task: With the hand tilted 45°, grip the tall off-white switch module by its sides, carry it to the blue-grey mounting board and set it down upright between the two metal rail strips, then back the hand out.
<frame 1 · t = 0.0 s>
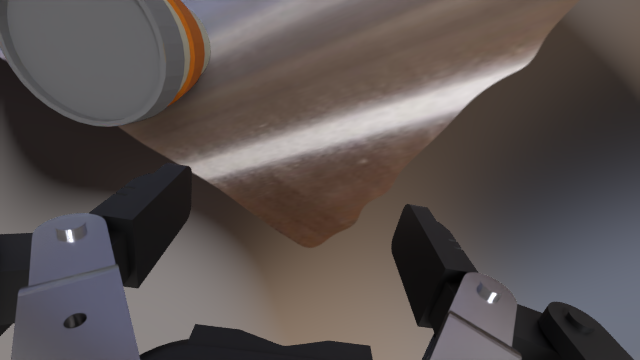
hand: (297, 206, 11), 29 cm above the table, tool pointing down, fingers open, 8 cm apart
reusable coffee cup: (173, 43, 35), on the table
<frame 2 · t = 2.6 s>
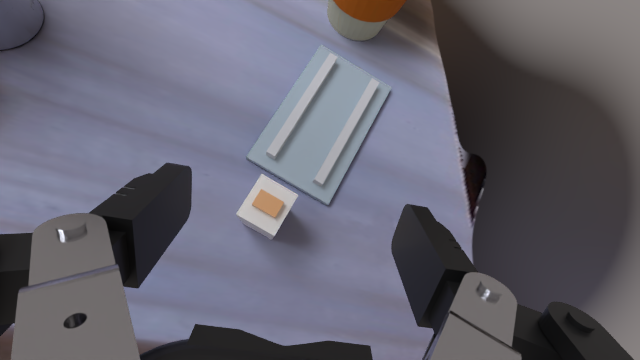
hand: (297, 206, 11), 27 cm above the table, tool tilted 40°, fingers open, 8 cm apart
reusable coffee cup: (354, 16, 47), on the table
switch module: (266, 216, 37), on the table
mounting board: (323, 122, 41), on the table
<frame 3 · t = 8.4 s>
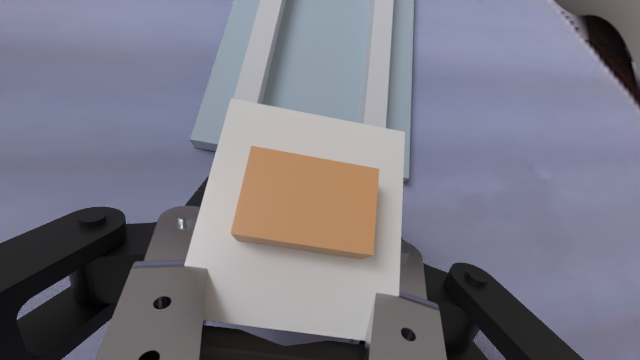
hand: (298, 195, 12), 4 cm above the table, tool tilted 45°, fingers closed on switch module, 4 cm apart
switch module: (287, 254, 15), on the table, touching gripper
mounting board: (323, 33, 20), on the table
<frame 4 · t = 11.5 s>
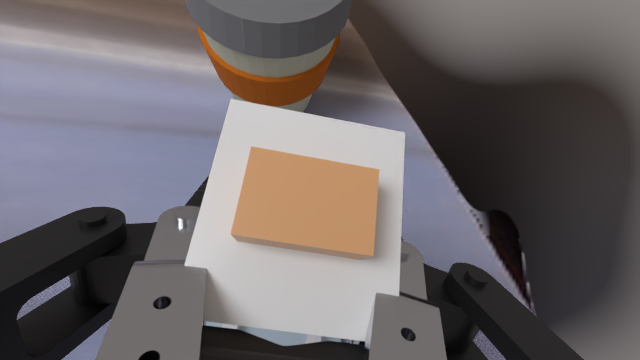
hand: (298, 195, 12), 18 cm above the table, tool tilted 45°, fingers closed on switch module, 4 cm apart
reusable coffee cup: (272, 90, 34), on the table
switch module: (287, 255, 15), point 14 cm above the table, touching gripper
mounting board: (283, 260, 28), on the table
when the fingers open (7 cm above the table, at t = 14.6 s): switch module drops 1 cm, resting on mounting board.
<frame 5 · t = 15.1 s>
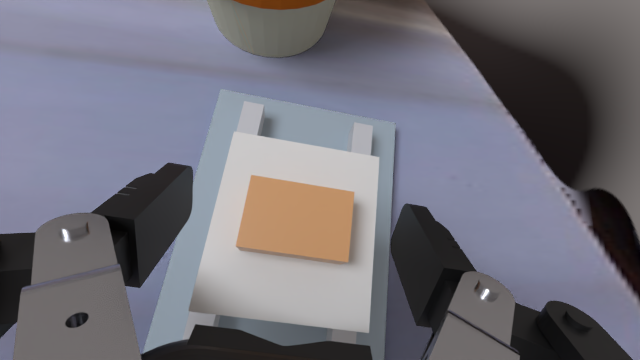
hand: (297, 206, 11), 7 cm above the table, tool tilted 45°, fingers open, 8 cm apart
reusable coffee cup: (271, 14, 24), on the table
switch module: (284, 257, 17), point 1 cm above the table, touching mounting board
mounting board: (284, 258, 18), on the table
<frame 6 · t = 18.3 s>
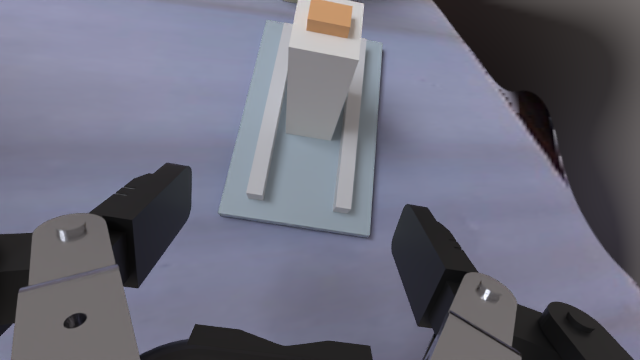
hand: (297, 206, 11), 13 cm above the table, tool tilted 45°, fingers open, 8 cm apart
switch module: (311, 115, 27), point 1 cm above the table, touching mounting board
mounting board: (311, 121, 28), on the table
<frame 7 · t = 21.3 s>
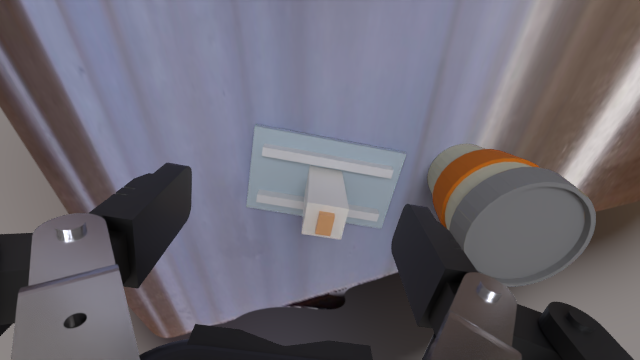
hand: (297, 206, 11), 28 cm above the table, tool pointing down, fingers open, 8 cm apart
reusable coffee cup: (458, 173, 42), on the table
switch module: (323, 181, 41), point 1 cm above the table, touching mounting board
mounting board: (323, 178, 42), on the table
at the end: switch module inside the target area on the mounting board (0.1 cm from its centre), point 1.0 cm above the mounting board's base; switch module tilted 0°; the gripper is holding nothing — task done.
